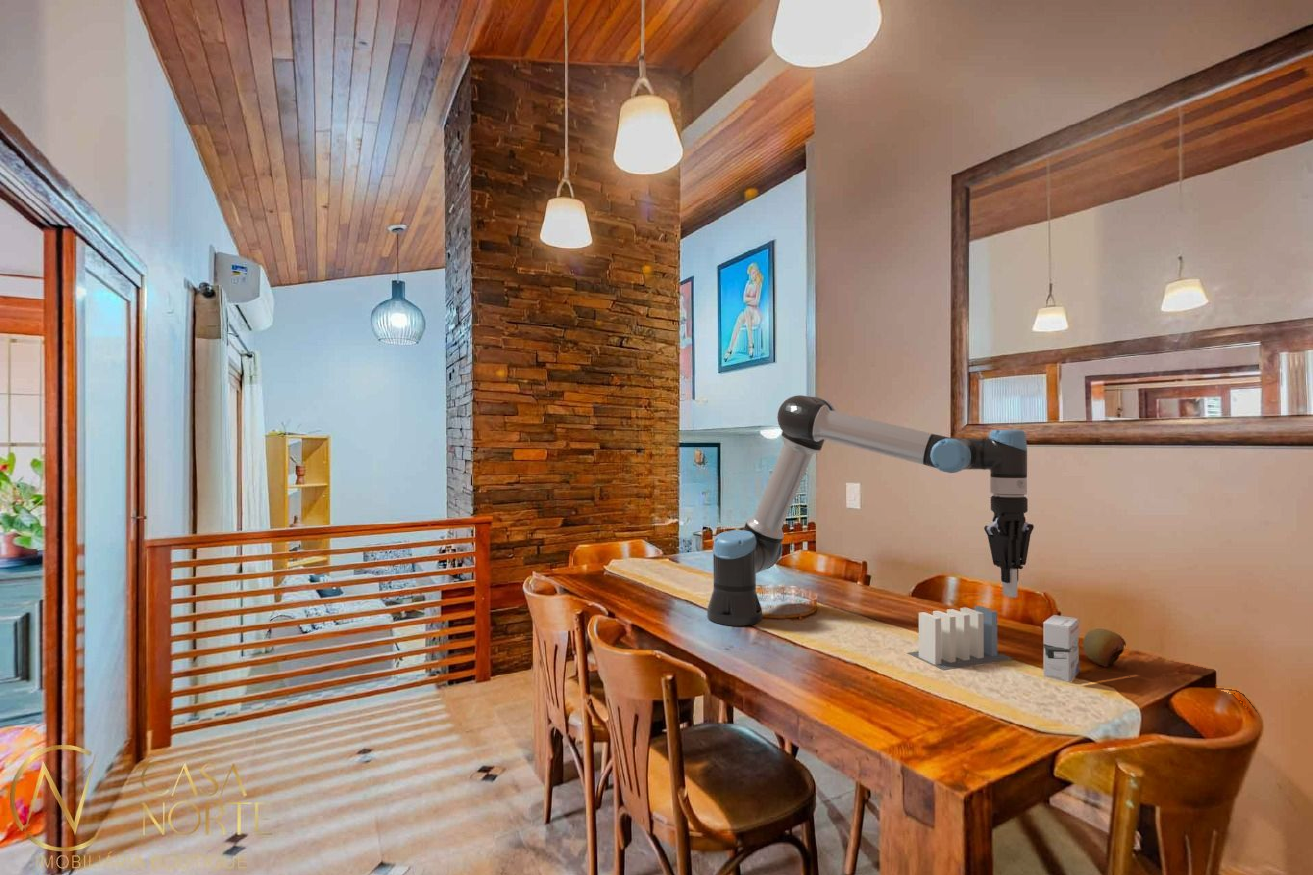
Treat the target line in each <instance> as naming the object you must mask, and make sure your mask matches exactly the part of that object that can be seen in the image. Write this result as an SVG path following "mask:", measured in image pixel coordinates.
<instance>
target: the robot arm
mask: <svg viewBox="0 0 1313 875" xmlns="http://www.w3.org/2000/svg"><path fill="white" fill-rule="evenodd" d="M776 418H777V423H778V426H779V428H780V430H781V431H782V433H781V434H780V436H781V439H782V441H783V445H782V447H781V450H780V451H779V454H778V457H777V460H776V462H775V464H774V467H773V469H772V472H771V474H770V477H769V479H768V481H767V484H766V486H765V489H764V491H763V494H762V496H761V498H760V501H759V503H758V506H757V509H756V511H755V514H754V516H753V517H751V518H747V519H746V522H745V524H744V526H743V529H736V530H735V529H732V530H727V531H723V532H720V533H718V534H717V535H716V536H715V537H714V539H713V546H712V553H713V555H712V556H713V557H712V559H713V561H712V562H713V563H712V564H713V570H712V571H713V591H712V593H711V597H710V600H709V603H708V606H707V612H706V617H707V619H708V620H709V621H711V622H713V623H716V624H719V625H723V626H725V625H726V626H734V627H735V626H737V627H738V626H739V627H740V626H742V627H744V626H750V625H755V624H758V623H760V622H762V621H763V609H762V606H761V603H760V598H759V596H758V592H757V587H756V586H757V584H756V581H757V577H756V576H757V574H758V573H761V572H763V571H766V570H768V569H770V568H772V567H773V566H774V565H775V564H777V563H778V562H779V560H780V558H781V557H782V554H783V544H782V542H783V540H784V537H785V533H784V532H783V526H784V524H785V521H786V518H787V517H788V514H789V513H790V509H791V507H792V505H793V502H794V500H795V498H796V495H797V493H798V490H799V488H800V486H801V483H802V481H803V478H804V477H805V474H806V471H807V469H808V467H809V464H810V462H811V461H812V457H813V455H814V454H817V453H818V452H821V450H822V448H823V445H824V443H825V441H829V442H832V443H833V442H834V443H837V444H841V445H845V446H849V447H853V448H857V449H861V450H864V451H868V452H872V453H876V454H880V455H884V456H888V457H893V458H896V459H900V460H904V461H907V462H908V461H909V462H911V463H916V464H920V465H924V466H927V467H931V468H934V469H937V470H939V471H941V472H942V473H943V472H944V473H949V474H954V473H958V472H959V473H960V472H961V471H964V470H983V471H986V470H989V471H990V483H989V485H990V491H989V492H990V493H991V494H992V495H991V496H990V510H991V511H992V513H993V517H992V522H991V524H989V525H985V526H984V527H983V529H984V531H985V534H986V535H987V539H988V544H989V549H990V552H991V553H990V554H991V558H992V559H991V560H992V564H993V565H994V566H996V567H998V568H1000V580H1001V581H1000V582H1002V596H1005V597H1009V598H1018V583H1019V570H1022V569H1024V566H1026V564H1027V559H1028V553H1029V547H1030V541H1031V540H1030V539H1031V535H1032V532H1033V530H1034V528H1035V526H1034V524H1031V523H1028V522H1027V521H1026V516H1025V514H1026V513H1027V512H1028V509H1029V507H1028V501H1029V500H1028V498H1027V497H1026V496H1025V495H1027V494H1028V447H1027V446H1028V444H1027V434H1026V432H1025V431H1024V430H1022V429H994V430H993V429H992V430H991V431H990V432H989V436H988V437H986V438H953V437H948V436H945V435H944V436H943V435H939V434H934V433H930V432H926V431H921V430H917V429H914V428H909V427H906V426H905V427H904V426H901V425H895V424H892V423H889V422H888V423H887V422H883V421H880V420H874V419H870V418H866V417H861V416H858V415H857V416H856V415H853V414H848V413H844V412H839V411H836V409H835V408H834V406H833V405H832V403H830V402H829V401H827V400H826V399H822V397H821V398H820V397H817V396H807V395H800V394H799V395H798V394H797V395H793V396H790V397H789V398H787V399H786V400H784V401H783V402H782V404H781V405H780V407H779V408H778V411H777V417H776Z"/></svg>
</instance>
